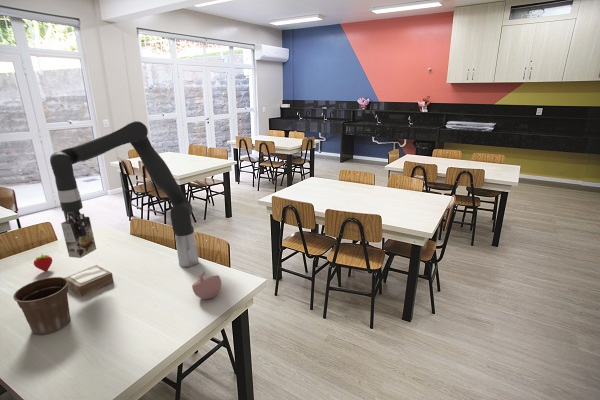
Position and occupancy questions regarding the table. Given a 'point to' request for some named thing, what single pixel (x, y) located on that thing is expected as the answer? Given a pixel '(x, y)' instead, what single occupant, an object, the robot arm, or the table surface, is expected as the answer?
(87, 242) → the coffee box
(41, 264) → the strawberry
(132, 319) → the table surface
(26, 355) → the table surface
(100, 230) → the table surface
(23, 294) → the plant pot
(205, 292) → the pink apple
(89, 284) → the plinth
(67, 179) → the robot arm
